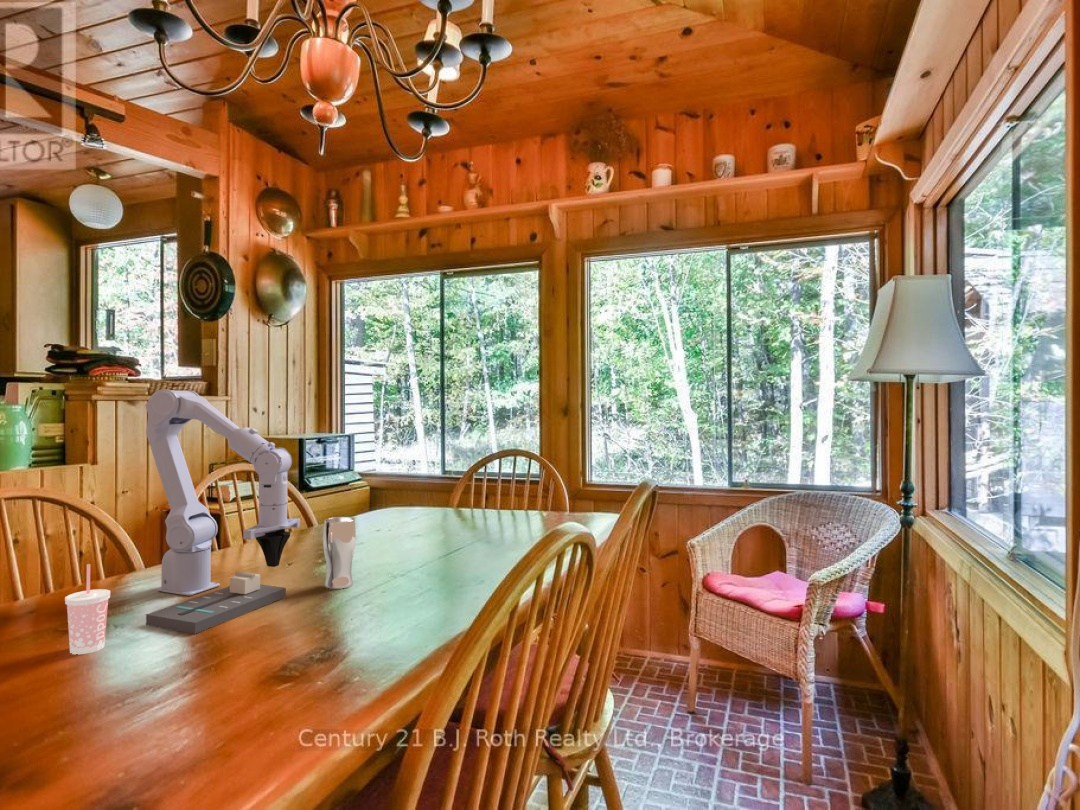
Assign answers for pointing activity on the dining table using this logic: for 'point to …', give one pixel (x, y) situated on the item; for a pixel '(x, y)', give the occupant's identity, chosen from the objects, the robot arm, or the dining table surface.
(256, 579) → the fader tab
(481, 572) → the dining table surface
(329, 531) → the beer glass
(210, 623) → the console
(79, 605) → the beverage cup
